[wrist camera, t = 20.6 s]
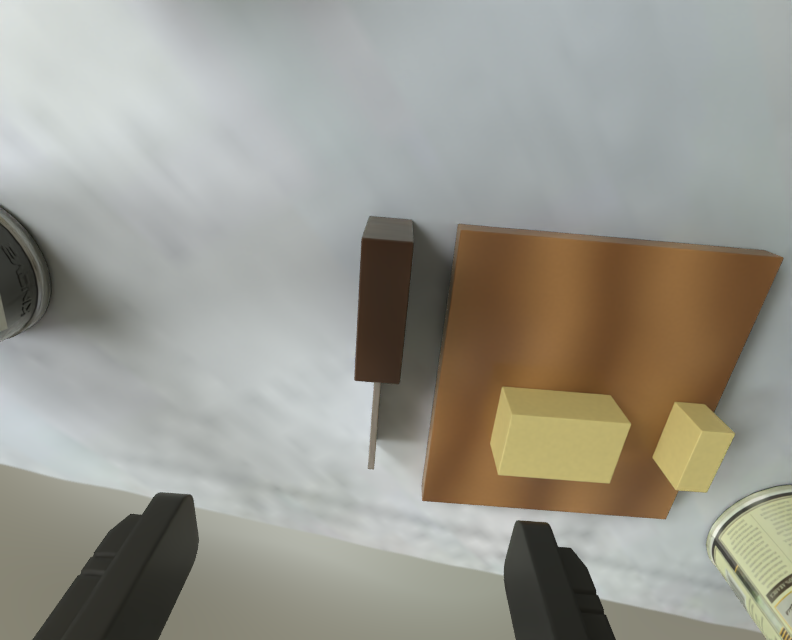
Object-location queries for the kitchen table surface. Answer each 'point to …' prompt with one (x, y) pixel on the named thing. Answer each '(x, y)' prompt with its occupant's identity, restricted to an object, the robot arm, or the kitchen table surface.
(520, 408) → the butter
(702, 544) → the kitchen table surface
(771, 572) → the coffee can
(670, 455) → the butter slice
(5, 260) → the robot arm
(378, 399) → the knife
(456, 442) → the board
